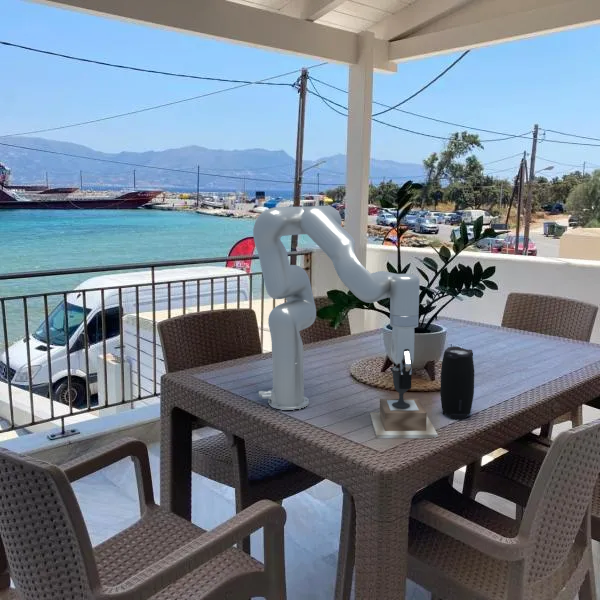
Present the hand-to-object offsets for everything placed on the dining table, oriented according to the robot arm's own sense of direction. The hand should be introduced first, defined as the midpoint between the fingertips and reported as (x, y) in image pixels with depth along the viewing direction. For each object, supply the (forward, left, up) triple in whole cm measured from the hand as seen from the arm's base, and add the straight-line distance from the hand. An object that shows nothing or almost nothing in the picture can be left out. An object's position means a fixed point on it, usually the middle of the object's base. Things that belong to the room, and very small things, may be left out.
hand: (402, 383), depth 156 cm
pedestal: (0, 0, -12) cm, 12 cm away
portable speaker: (+17, +8, -13) cm, 23 cm away
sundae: (0, -1, -6) cm, 6 cm away
